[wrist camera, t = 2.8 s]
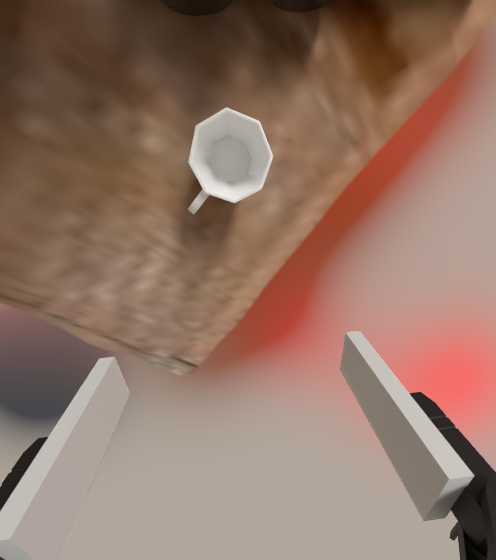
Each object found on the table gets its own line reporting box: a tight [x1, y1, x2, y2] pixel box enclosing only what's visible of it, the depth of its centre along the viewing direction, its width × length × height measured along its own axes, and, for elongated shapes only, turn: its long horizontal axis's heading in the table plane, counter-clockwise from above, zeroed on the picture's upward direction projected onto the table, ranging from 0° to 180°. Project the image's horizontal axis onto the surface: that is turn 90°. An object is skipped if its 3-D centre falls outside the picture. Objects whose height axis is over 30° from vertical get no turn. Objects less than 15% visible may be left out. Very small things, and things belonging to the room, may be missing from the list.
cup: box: [188, 107, 273, 214], centre depth 24 cm, size 7×10×8 cm
